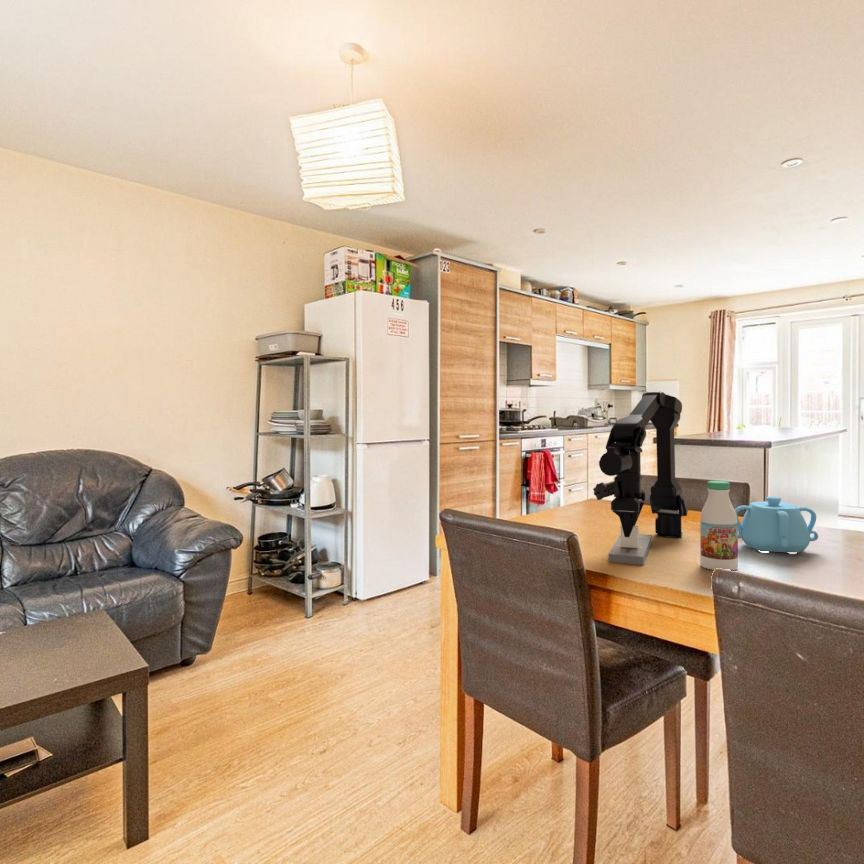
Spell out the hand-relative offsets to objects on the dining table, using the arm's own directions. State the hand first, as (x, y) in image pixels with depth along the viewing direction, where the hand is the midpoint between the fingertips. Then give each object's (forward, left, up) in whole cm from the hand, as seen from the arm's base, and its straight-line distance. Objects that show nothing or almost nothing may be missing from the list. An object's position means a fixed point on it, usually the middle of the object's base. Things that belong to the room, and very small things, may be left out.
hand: (629, 533), depth 140 cm
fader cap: (0, 0, -3) cm, 3 cm away
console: (0, -4, -6) cm, 7 cm away
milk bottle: (-20, +4, -6) cm, 21 cm away
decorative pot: (-33, -18, -6) cm, 38 cm away
